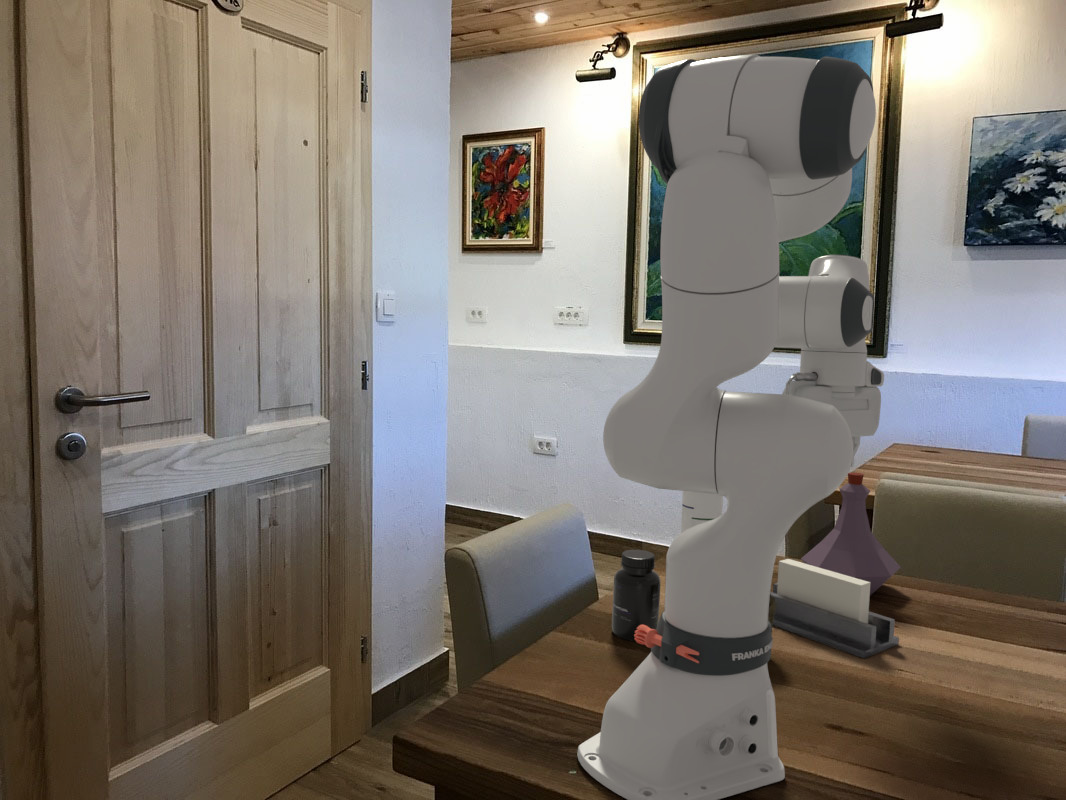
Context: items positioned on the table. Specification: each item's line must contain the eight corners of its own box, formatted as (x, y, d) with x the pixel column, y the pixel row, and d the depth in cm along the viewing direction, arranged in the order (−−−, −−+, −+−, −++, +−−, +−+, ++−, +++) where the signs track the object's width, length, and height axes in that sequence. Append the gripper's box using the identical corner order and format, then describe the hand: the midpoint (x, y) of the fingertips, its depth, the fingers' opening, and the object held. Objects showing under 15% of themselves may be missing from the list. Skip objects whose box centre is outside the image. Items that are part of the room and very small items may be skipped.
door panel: (867, 635, 124) (870, 582, 123) (857, 639, 123) (861, 585, 122) (785, 608, 135) (788, 558, 134) (776, 611, 134) (778, 561, 133)
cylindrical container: (696, 564, 161) (702, 432, 158) (727, 574, 155) (733, 437, 153) (671, 571, 156) (676, 435, 153) (702, 582, 151) (708, 441, 148)
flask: (891, 577, 156) (899, 468, 153) (907, 607, 140) (916, 486, 138) (797, 568, 160) (802, 462, 157) (802, 597, 144) (808, 479, 142)
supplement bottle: (606, 638, 124) (609, 557, 123) (617, 622, 131) (619, 545, 129) (653, 645, 122) (656, 562, 121) (662, 628, 128) (665, 550, 127)
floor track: (898, 644, 124) (900, 617, 124) (863, 658, 119) (865, 630, 118) (782, 604, 140) (783, 580, 139) (747, 615, 134) (748, 591, 134)
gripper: (808, 373, 113) (802, 478, 113) (891, 374, 125) (884, 468, 126) (768, 371, 117) (763, 471, 118) (851, 371, 130) (846, 462, 131)
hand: (826, 469), depth 122 cm, fingers open, 8 cm apart
